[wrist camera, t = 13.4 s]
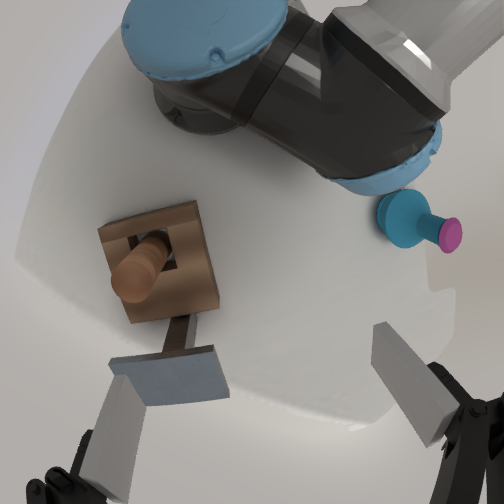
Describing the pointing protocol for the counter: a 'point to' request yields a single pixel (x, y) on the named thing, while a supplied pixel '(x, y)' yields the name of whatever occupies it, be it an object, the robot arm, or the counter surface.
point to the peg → (141, 267)
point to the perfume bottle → (416, 222)
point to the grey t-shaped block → (175, 369)
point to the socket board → (173, 272)
